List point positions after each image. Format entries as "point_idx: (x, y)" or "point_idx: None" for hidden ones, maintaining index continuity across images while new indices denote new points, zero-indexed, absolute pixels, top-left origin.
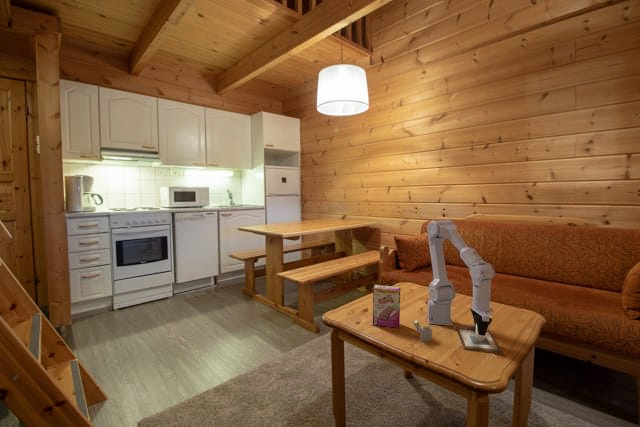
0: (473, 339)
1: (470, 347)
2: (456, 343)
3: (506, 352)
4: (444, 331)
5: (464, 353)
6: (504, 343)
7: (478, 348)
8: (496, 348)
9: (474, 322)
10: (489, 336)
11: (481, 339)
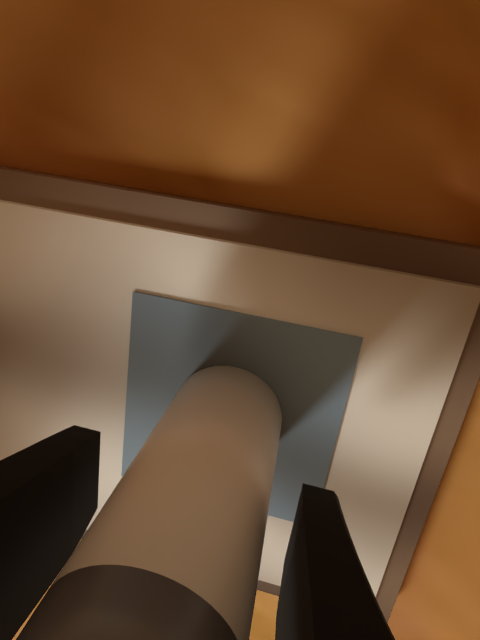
0: None
1: (393, 574)
2: (263, 608)
3: (470, 152)
4: (42, 598)
5: (466, 634)
6: (200, 55)
7: (418, 506)
8: (451, 301)
9: (11, 622)
10: (95, 236)
11: (277, 445)
